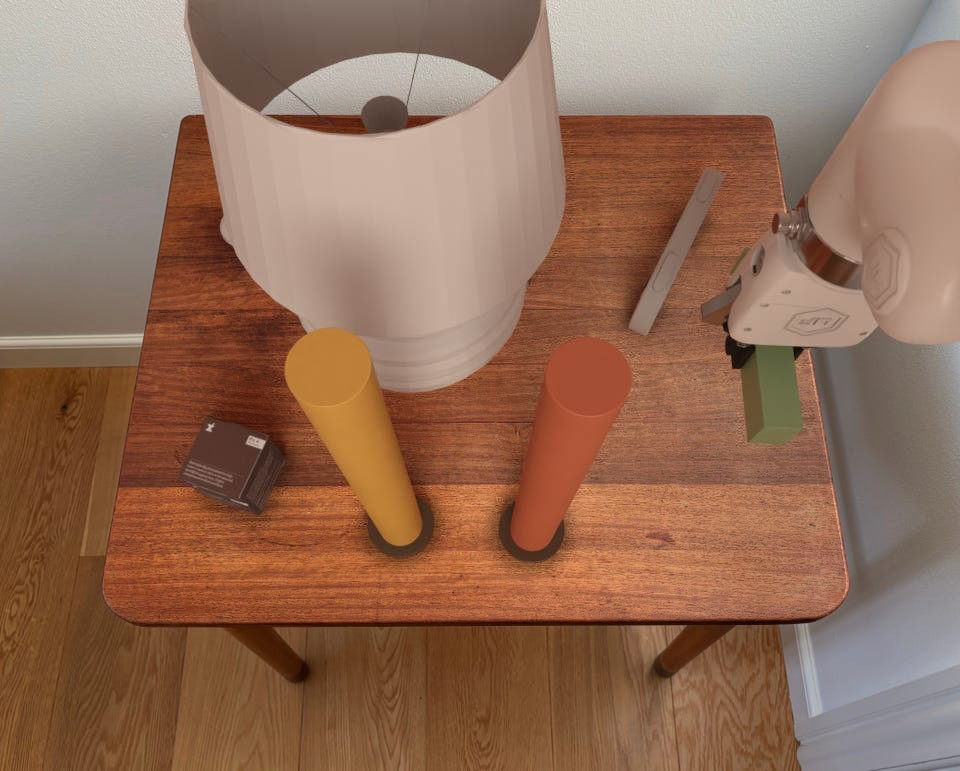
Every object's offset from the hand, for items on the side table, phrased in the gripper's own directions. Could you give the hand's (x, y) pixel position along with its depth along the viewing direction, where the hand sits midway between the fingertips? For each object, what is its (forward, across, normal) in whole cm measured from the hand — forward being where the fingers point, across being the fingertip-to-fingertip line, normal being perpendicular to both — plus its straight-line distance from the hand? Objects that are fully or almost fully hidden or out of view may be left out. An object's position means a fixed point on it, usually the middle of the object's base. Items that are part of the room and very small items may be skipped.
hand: (756, 353), depth 65 cm
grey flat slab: (+11, -4, +15) cm, 19 cm away
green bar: (0, 0, 0) cm, 0 cm away
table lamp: (+12, -30, +8) cm, 33 cm away
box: (+12, -45, -9) cm, 48 cm away
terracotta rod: (+12, -18, -13) cm, 25 cm away
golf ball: (+11, -49, +17) cm, 53 cm away
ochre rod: (+12, -30, -13) cm, 35 cm away
